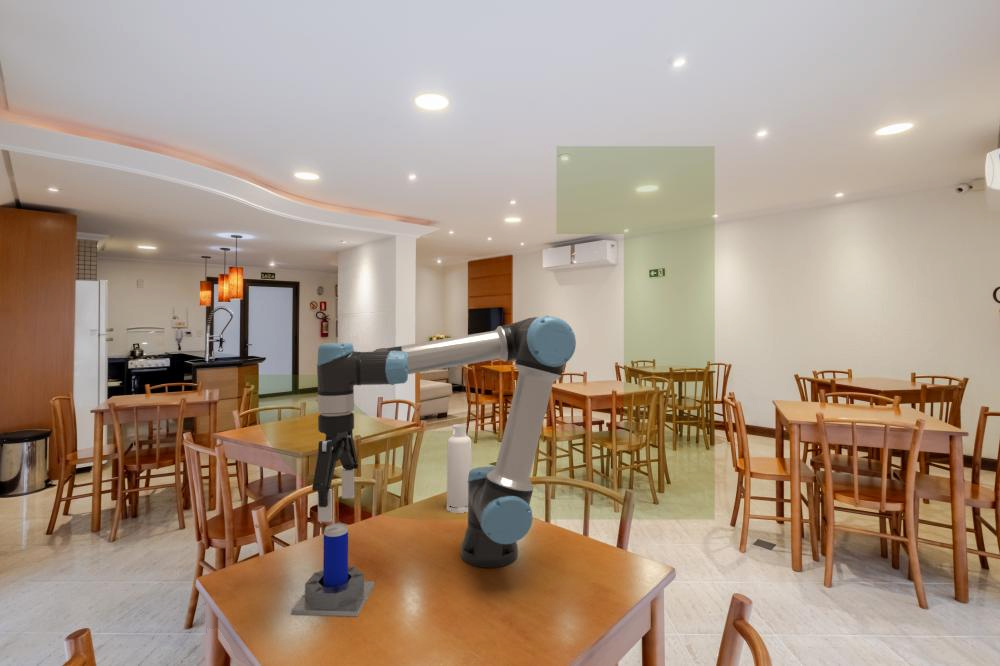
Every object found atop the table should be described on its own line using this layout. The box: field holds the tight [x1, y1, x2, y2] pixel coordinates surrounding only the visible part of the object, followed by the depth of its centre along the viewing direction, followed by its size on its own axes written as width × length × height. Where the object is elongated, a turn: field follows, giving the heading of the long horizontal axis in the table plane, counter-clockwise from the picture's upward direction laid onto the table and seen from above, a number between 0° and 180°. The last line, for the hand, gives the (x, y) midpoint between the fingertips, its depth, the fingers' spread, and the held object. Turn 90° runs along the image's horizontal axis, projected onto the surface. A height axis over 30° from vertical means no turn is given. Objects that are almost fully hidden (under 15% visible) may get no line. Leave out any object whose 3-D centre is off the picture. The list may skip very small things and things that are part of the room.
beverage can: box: [322, 522, 349, 587], centre depth 106 cm, size 5×5×15 cm
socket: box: [290, 566, 375, 617], centre depth 106 cm, size 14×12×4 cm
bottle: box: [446, 423, 472, 514], centre depth 160 cm, size 8×8×28 cm
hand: (337, 508), depth 106 cm, fingers open, 13 cm apart
